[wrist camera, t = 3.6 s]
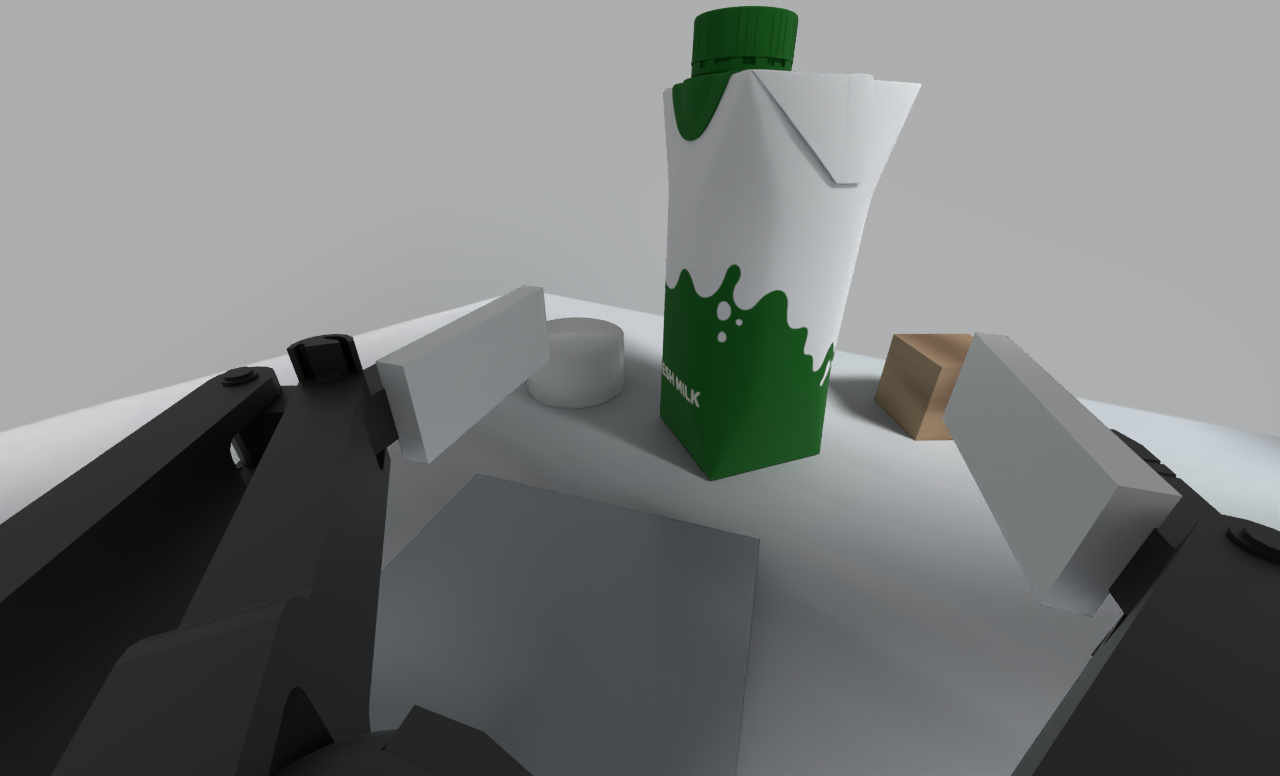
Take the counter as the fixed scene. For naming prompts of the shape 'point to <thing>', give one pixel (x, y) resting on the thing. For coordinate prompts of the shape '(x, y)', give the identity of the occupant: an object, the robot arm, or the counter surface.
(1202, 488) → the counter surface
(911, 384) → the walnut block
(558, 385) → the white cylinder puck
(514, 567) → the slate board
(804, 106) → the soya milk
